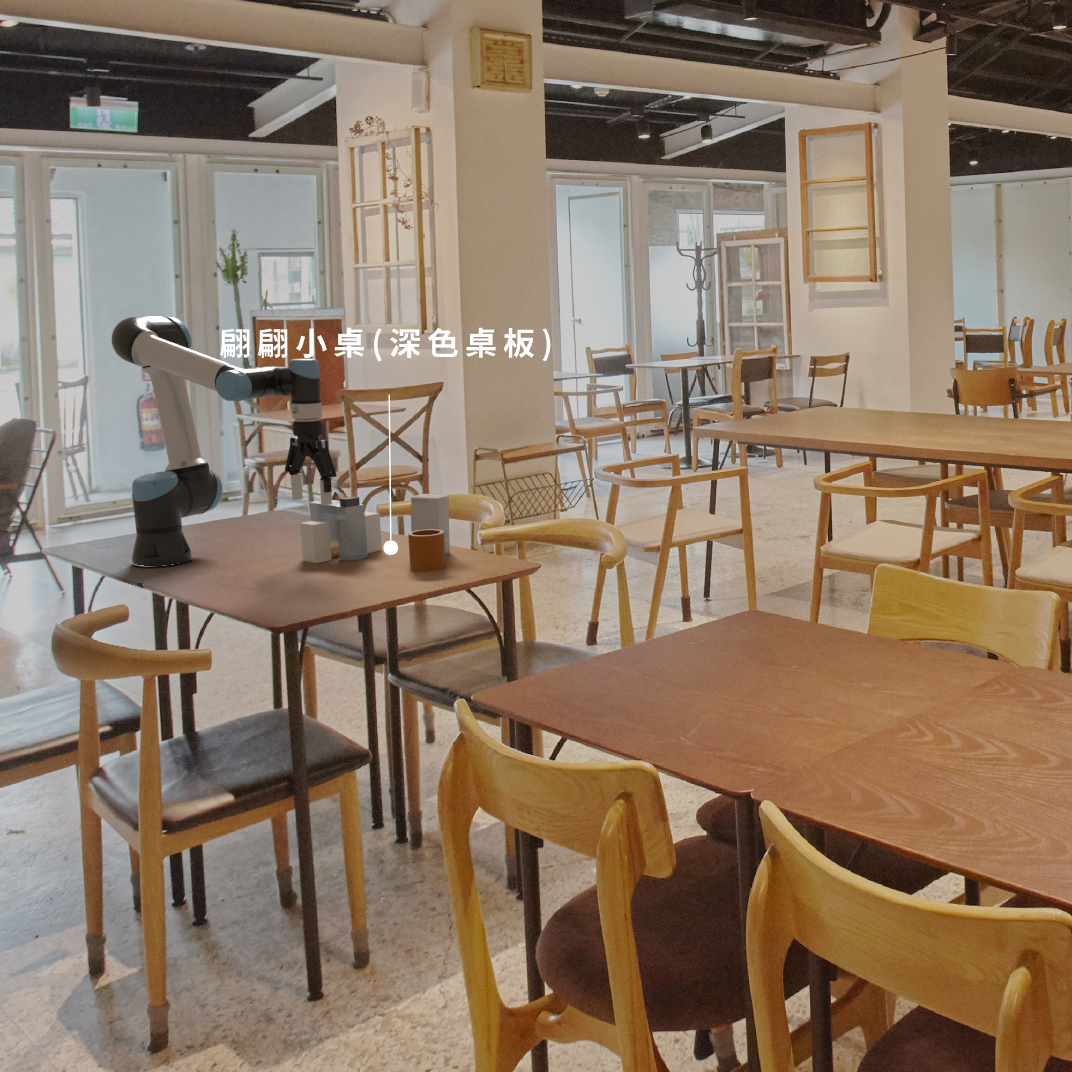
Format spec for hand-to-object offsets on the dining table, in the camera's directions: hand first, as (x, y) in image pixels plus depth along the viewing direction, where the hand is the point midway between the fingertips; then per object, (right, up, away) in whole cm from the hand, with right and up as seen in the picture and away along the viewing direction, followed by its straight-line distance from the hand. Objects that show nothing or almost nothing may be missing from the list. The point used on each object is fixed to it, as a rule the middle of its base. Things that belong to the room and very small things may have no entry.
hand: (311, 502), depth 314 cm
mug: (+32, -17, -11) cm, 37 cm away
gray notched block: (+6, -14, +7) cm, 17 cm away
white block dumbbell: (+7, -14, +8) cm, 17 cm away
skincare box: (+31, -14, +4) cm, 34 cm away
